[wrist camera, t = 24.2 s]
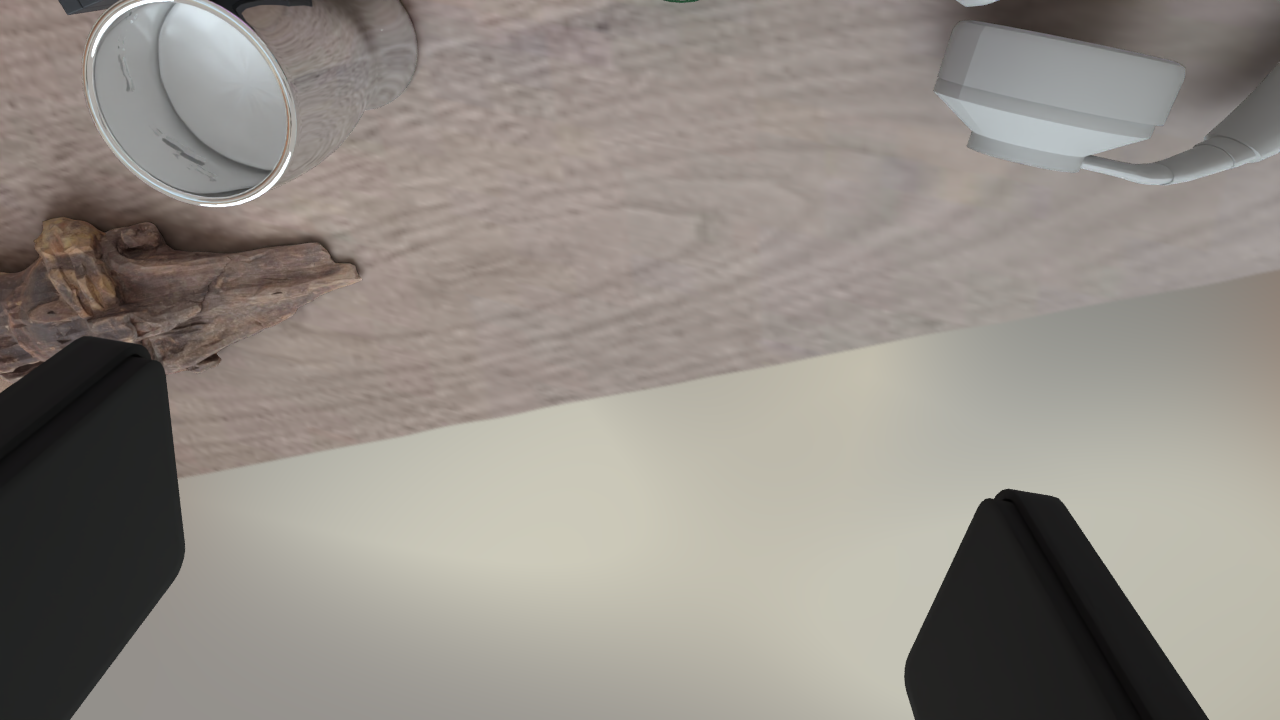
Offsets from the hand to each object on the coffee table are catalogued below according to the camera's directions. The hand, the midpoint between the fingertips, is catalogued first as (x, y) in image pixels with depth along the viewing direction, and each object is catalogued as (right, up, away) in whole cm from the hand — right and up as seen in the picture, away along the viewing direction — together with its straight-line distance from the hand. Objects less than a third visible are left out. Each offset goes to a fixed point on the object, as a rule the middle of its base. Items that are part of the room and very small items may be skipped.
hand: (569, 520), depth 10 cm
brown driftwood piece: (-29, +5, +36) cm, 47 cm away
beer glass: (-13, +17, +29) cm, 36 cm away
